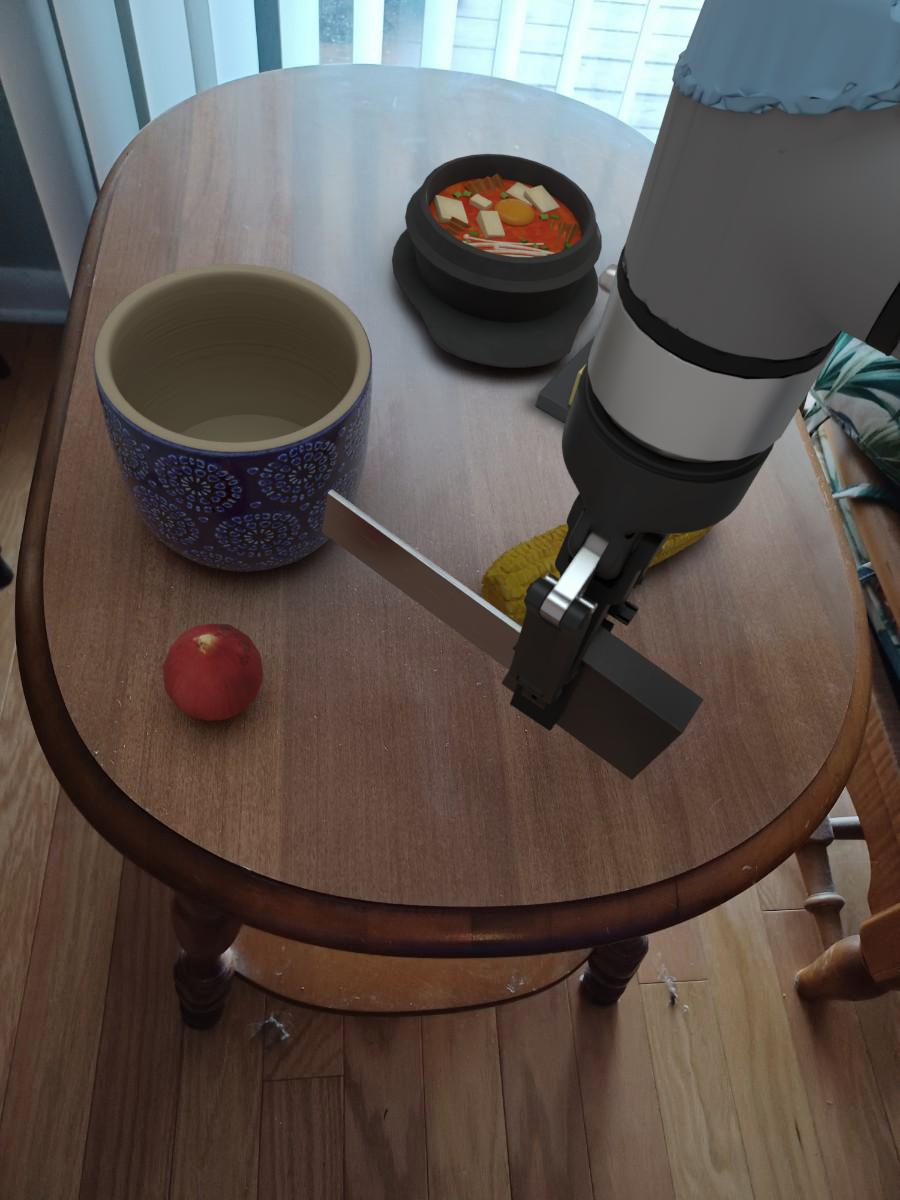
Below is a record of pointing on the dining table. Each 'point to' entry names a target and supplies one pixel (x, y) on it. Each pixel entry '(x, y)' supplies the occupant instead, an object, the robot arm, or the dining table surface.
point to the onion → (212, 672)
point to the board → (563, 386)
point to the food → (546, 567)
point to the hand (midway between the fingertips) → (547, 693)
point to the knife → (612, 668)
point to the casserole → (500, 259)
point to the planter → (235, 410)
